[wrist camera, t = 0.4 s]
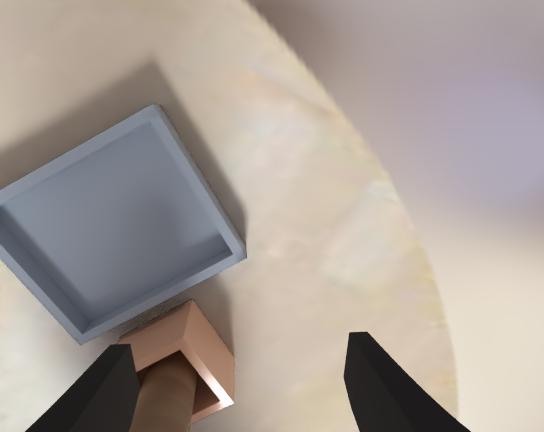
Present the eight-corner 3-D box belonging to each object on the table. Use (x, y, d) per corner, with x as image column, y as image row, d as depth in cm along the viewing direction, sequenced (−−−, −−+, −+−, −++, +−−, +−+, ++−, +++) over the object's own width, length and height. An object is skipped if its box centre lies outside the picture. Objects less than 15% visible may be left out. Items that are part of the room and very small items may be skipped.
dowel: (171, 378, 23) (138, 507, 15) (145, 347, 22) (96, 469, 14) (209, 358, 23) (196, 479, 15) (185, 326, 22) (157, 439, 14)
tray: (92, 327, 22) (80, 345, 20) (-17, 204, 19) (-42, 213, 17) (246, 246, 21) (247, 257, 19) (160, 104, 18) (152, 103, 16)
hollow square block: (167, 391, 24) (154, 442, 20) (120, 336, 22) (96, 382, 18) (234, 357, 24) (233, 402, 20) (192, 298, 22) (183, 337, 18)
